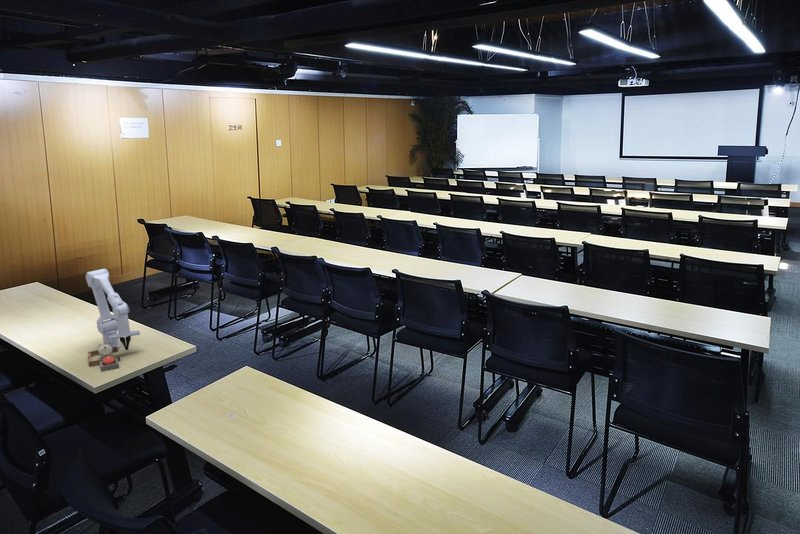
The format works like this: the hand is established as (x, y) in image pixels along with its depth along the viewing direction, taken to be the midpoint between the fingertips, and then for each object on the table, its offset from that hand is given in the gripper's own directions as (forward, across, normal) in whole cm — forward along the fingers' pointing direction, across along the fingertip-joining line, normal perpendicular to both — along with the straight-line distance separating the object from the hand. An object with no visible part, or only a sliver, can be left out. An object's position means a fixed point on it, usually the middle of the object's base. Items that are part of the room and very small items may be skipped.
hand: (126, 349), depth 295 cm
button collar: (+2, -9, -13) cm, 16 cm away
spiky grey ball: (+3, -10, 0) cm, 10 cm away
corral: (+2, -10, 0) cm, 11 cm away
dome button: (+1, -9, -13) cm, 16 cm away
